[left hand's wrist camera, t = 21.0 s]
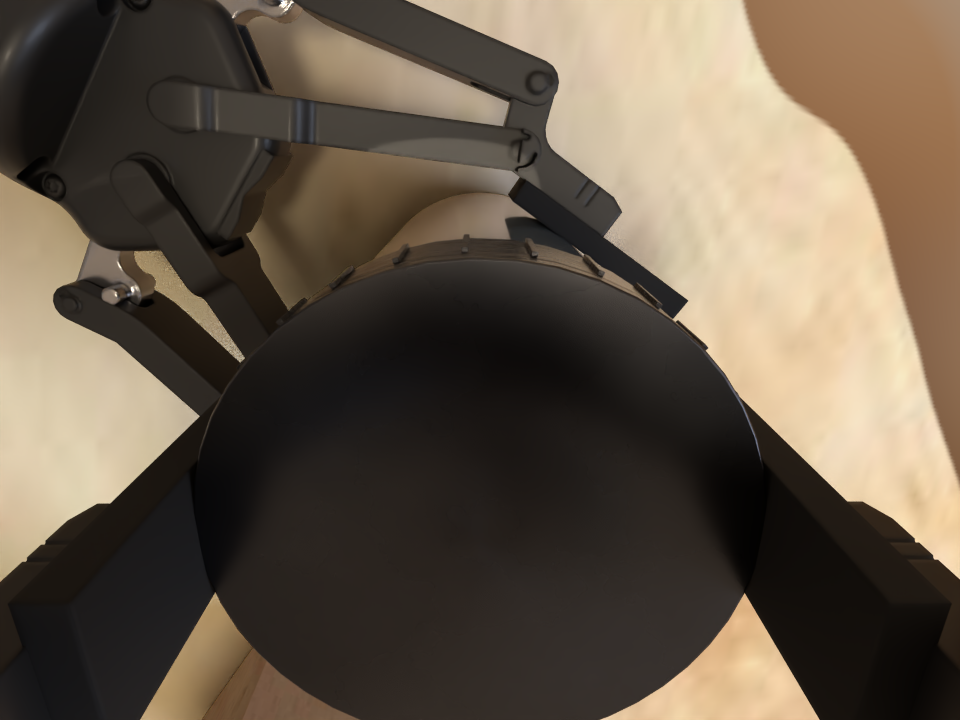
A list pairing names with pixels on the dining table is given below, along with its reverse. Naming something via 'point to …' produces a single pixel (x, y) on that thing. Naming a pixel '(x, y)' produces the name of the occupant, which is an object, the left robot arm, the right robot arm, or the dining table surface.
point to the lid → (479, 489)
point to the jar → (475, 223)
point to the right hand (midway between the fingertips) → (578, 407)
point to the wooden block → (267, 697)
